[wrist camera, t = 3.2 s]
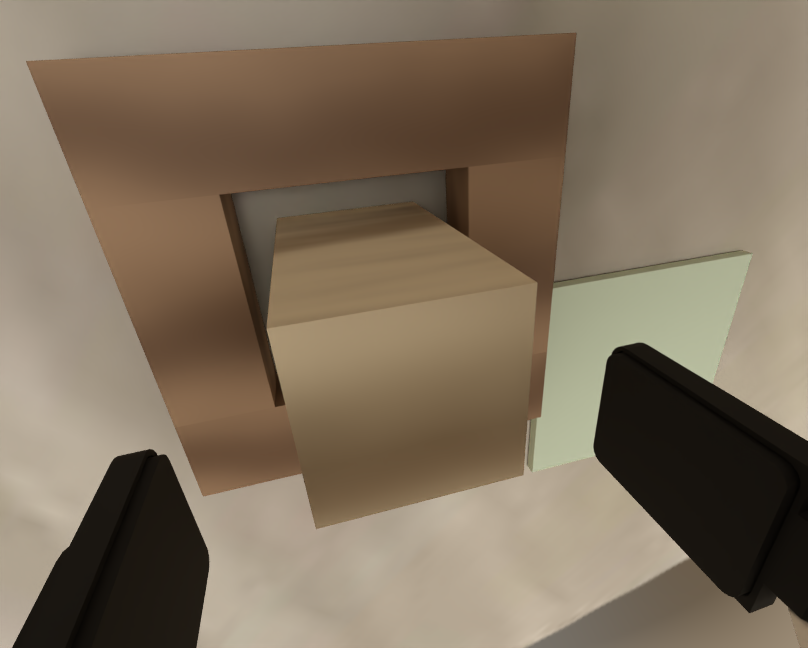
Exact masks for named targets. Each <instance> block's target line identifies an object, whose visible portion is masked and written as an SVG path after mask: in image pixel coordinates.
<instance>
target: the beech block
mask: <svg viewBox="0 0 808 648" xmlns="http://www.w3.org/2000/svg"><path fill="white" fill-rule="evenodd" d="M536 297H537V282H536V281H534V280H533V279H531V278H530V277H528V276H526V275H525V274H523V273H522V272H520V271H519V270H517V269H516V268H514V267H513V266H511V265H510V264H508V263H507V262H505V261H503V260H502V259H500V258H499V257H497V256H496V255H494V254H493V253H491V252H490V251H488V250H487V249H485V248H484V247H482V246H480V245H479V244H477V243H476V242H474V241H473V240H471V239H470V238H468V237H467V236H465V235H464V234H462V233H460V232H459V231H457V230H456V229H454V228H453V227H451V226H450V225H448V224H447V223H445V222H444V221H442V220H441V219H439V218H437V217H436V216H434V215H433V214H431V213H430V212H428V211H427V210H425V209H424V208H422V207H421V206H419V205H418V204H416V203H414V202H413V201H412V202H404V203H396V204H388V205H380V206H372V207H363V208H355V209H347V210H339V211H331V212H323V213H315V214H307V215H299V216H291V217H283V218H277V225H276V235H275V245H274V256H273V266H272V277H271V287H270V298H269V308H268V319H267V333H268V337H269V341H270V345H271V349H272V353H273V357H274V361H275V365H276V369H277V373H278V377H279V381H280V385H281V389H282V393H283V397H284V401H285V405H286V409H287V413H288V418H289V422H290V426H291V430H292V434H293V438H294V442H295V446H296V450H297V454H298V458H299V462H300V466H301V470H302V474H303V478H304V482H305V486H306V490H307V494H308V498H309V502H310V506H311V510H312V514H313V518H314V523H315V527H316V529H318V528H322V527H326V526H330V525H333V524H337V523H341V522H345V521H349V520H353V519H356V518H360V517H364V516H368V515H372V514H376V513H380V512H383V511H387V510H391V509H395V508H399V507H403V506H406V505H410V504H414V503H418V502H422V501H426V500H429V499H433V498H437V497H441V496H445V495H449V494H452V493H456V492H460V491H464V490H468V489H472V488H475V487H479V486H483V485H487V484H491V483H495V482H498V481H502V480H506V479H510V478H514V477H518V476H521V475H523V472H524V459H525V445H526V432H527V418H528V405H529V391H530V378H531V364H532V351H533V337H534V324H535V310H536Z"/></svg>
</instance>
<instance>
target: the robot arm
mask: <svg viewBox="0 0 808 648" xmlns="http://www.w3.org/2000/svg"><path fill="white" fill-rule="evenodd" d="M593 449H594V453H595V455H596V457H597V459H598V460H599V462H600V463H601V464H602V465H603V466H604V467H605V468H606V469H607V470H608V471H609V472H610V473H611V474H612V475H613V477H614V478H615V479H616V480H617V481H618V482H619V483H620V484H621V485H622V486H623V487H624V488H625V489H626V490H627V491H628V492H629V493H630V495H631V496H632V497H633V498H634V499H635V500H636V501H637V502H638V503H639V504H640V505H641V506H642V507H643V508H644V509H645V510H646V512H647V513H648V514H649V515H650V516H651V517H652V518H653V519H654V520H655V521H656V522H657V523H658V524H659V525H660V526H661V527H662V528H663V530H664V531H665V532H666V533H667V534H668V535H669V536H670V537H671V538H672V539H673V540H674V541H675V542H676V543H677V544H678V545H679V546H680V548H681V549H682V550H683V551H684V552H685V553H686V554H687V555H688V556H689V557H690V558H691V559H692V560H693V561H694V562H695V563H696V565H697V566H698V567H699V568H700V569H701V570H702V571H703V572H704V573H705V574H706V575H707V576H708V577H709V578H710V579H711V580H712V581H713V582H714V583H715V585H716V586H717V587H718V588H719V589H720V590H721V591H722V592H724V593H725V594H727V595H728V596H731V597H734V598H735V599H736V600H737V601H738V602H739V603H740V604H741V605H742V606H743V607H744V608H745V609H746V610H747V611H748V612H749V613H751V612H754V611H756V610H759V609H761V608H764V607H767V606H769V605H772V604H773V603H774V601H775V599H776V597H778V598H779V599H781V601H782V602H784V603H785V604H786V605H787V606H788V610H789V613H790V616H791V620H792V623H793V626H794V630H795V633H796V636H797V640H798V643H799V646H800V648H808V441H807V440H805V439H803V438H802V437H800V436H798V435H797V434H795V433H793V432H792V431H790V430H788V429H787V428H785V427H783V426H782V425H780V424H778V423H777V422H775V421H774V420H772V419H770V418H769V417H767V416H765V415H764V414H762V413H760V412H759V411H757V410H755V409H754V408H752V407H750V406H749V405H747V404H745V403H744V402H742V401H740V400H739V399H737V398H735V397H734V396H732V395H730V394H729V393H727V392H725V391H724V390H722V389H720V388H719V387H717V386H715V385H714V384H712V383H710V382H709V381H707V380H705V379H704V378H702V377H700V376H699V375H697V374H695V373H694V372H692V371H690V370H689V369H687V368H685V367H684V366H682V365H680V364H679V363H677V362H675V361H674V360H672V359H670V358H669V357H667V356H666V355H664V354H662V353H661V352H659V351H657V350H656V349H654V348H652V347H651V346H649V345H647V344H645V343H640V342H638V343H634V344H629V345H624V346H620V347H617V348H615V349H614V350H613V351H612V354H611V355H610V356H609V357H608V359H607V362H606V369H605V375H604V381H603V387H602V394H601V400H600V406H599V412H598V419H597V425H596V431H595V437H594V444H593ZM208 572H209V554H208V550H207V547H206V545H205V542H204V540H203V538H202V535H201V533H200V530H199V528H198V526H197V523H196V521H195V519H194V516H193V514H192V512H191V509H190V507H189V505H188V502H187V500H186V498H185V495H184V493H183V491H182V488H181V486H180V484H179V481H178V479H177V477H176V474H175V472H174V470H173V467H172V465H171V463H170V460H169V458H168V457H167V456H166V455H159V456H158V455H157V453H156V452H155V451H154V450H151V449H149V450H144V451H140V452H135V453H130V454H126V455H121V456H117V457H116V458H114V459H113V461H112V462H111V464H110V466H109V468H108V470H107V472H106V474H105V476H104V478H103V480H102V482H101V484H100V486H99V488H98V490H97V492H96V494H95V496H94V498H93V500H92V502H91V504H90V506H89V508H88V510H87V512H86V514H85V516H84V518H83V520H82V522H81V524H80V526H79V528H78V530H77V532H76V534H75V536H74V538H73V540H72V542H71V544H70V546H69V547H68V548H67V549H66V550H64V551H63V552H62V554H61V555H60V557H59V558H58V560H57V561H56V563H55V565H54V567H53V569H52V571H51V573H50V575H49V577H48V579H47V581H46V583H45V585H44V587H43V589H42V591H41V592H40V594H39V596H38V598H37V600H36V602H35V604H34V606H33V608H32V610H31V612H30V614H29V616H28V618H27V620H26V622H25V624H24V626H23V628H22V629H21V631H20V633H19V635H18V637H17V639H16V641H15V643H14V645H13V647H12V648H196V647H197V640H198V634H199V628H200V622H201V616H202V609H203V603H204V597H205V591H206V585H207V578H208Z"/></svg>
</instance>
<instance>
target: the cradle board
mask: <svg viewBox="0 0 808 648" xmlns="http://www.w3.org/2000/svg"><path fill="white" fill-rule="evenodd" d="M575 44H576V33H561V34H542V35H523V36H504V37H484V38H465V39H446V40H427V41H407V42H388V43H369V44H350V45H330V46H311V47H292V48H273V49H253V50H234V51H215V52H195V53H176V54H157V55H138V56H118V57H99V58H80V59H61V60H41V61H26V63H27V65H28V67H29V70H30V72H31V75H32V77H33V80H34V82H35V85H36V87H37V90H38V92H39V94H40V97H41V99H42V102H43V104H44V107H45V109H46V112H47V114H48V117H49V119H50V121H51V124H52V126H53V129H54V131H55V134H56V136H57V139H58V141H59V144H60V146H61V149H62V151H63V153H64V156H65V158H66V161H67V163H68V166H69V168H70V171H71V173H72V176H73V178H74V180H75V183H76V185H77V188H78V190H79V193H80V195H81V198H82V200H83V203H84V205H85V207H86V210H87V212H88V215H89V217H90V220H91V222H92V225H93V227H94V230H95V232H96V235H97V237H98V239H99V242H100V244H101V247H102V249H103V252H104V254H105V257H106V259H107V262H108V264H109V266H110V269H111V271H112V274H113V276H114V279H115V281H116V284H117V286H118V289H119V291H120V293H121V296H122V298H123V301H124V303H125V306H126V308H127V311H128V313H129V316H130V318H131V321H132V323H133V325H134V328H135V330H136V333H137V335H138V338H139V340H140V343H141V345H142V348H143V350H144V352H145V355H146V357H147V360H148V362H149V365H150V367H151V370H152V372H153V375H154V377H155V379H156V382H157V384H158V387H159V389H160V392H161V394H162V397H163V399H164V402H165V404H166V407H167V409H168V411H169V414H170V416H171V419H172V421H173V424H174V426H175V429H176V431H177V434H178V436H179V438H180V441H181V443H182V446H183V448H184V451H185V453H186V456H187V458H188V461H189V463H190V465H191V468H192V470H193V473H194V475H195V478H196V480H197V483H198V485H199V488H200V490H201V493H202V495H203V496H207V495H211V494H216V493H220V492H224V491H228V490H233V489H237V488H241V487H246V486H250V485H254V484H258V483H263V482H267V481H271V480H275V479H280V478H284V477H288V476H292V475H297V474H301V473H302V470H301V466H300V462H299V458H298V454H297V450H296V446H295V442H294V438H293V434H292V430H291V426H290V422H289V418H288V413H287V409H286V405H285V401H284V397H283V393H282V389H281V385H280V381H279V377H278V374H277V375H276V372H275V368H274V364H273V360H272V356H271V352H270V348H269V344H268V340H267V336H266V332H265V328H264V324H263V320H262V316H261V312H260V308H259V304H258V300H257V296H256V292H255V288H254V284H253V280H252V276H251V272H250V268H249V264H248V260H247V256H246V252H245V248H244V244H243V240H242V236H241V232H240V228H239V224H238V220H237V216H236V212H235V208H234V204H233V200H232V196H231V193H238V192H247V191H256V190H265V189H274V188H283V187H292V186H301V185H310V184H319V183H328V182H337V181H346V180H355V179H364V178H373V177H382V176H391V175H400V174H409V173H418V172H427V171H436V170H445V169H446V204H447V224H448V225H450V226H451V227H453V228H454V229H456V230H457V231H459V232H460V233H462V234H464V235H465V236H467V237H468V238H470V239H471V240H473V241H474V242H476V243H477V244H479V245H480V246H482V247H484V248H485V249H487V250H488V251H490V252H491V253H493V254H494V255H496V256H497V257H499V258H500V259H502V260H503V261H505V262H507V263H508V264H510V265H511V266H513V267H514V268H516V269H517V270H519V271H520V272H522V273H523V274H525V275H526V276H528V277H530V278H531V279H533V280H534V281H536V282H537V297H536V310H535V324H534V337H533V351H532V364H531V378H530V391H529V405H528V418H527V420H531V419H535V418H539V417H541V412H542V401H543V390H544V379H545V369H546V358H547V347H548V336H549V325H550V314H551V304H552V293H553V282H554V271H555V260H556V249H557V239H558V228H559V217H560V206H561V195H562V184H563V174H564V163H565V152H566V141H567V130H568V119H569V109H570V98H571V87H572V76H573V65H574V54H575Z"/></svg>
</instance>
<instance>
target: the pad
mask: <svg viewBox="0 0 808 648" xmlns="http://www.w3.org/2000/svg"><path fill="white" fill-rule="evenodd" d="M752 254H753V253H749V252H746V251H736V252H730V253H725V254H719V255H713V256H707V257H701V258H695V259H690V260H684V261H678V262H672V263H666V264H661V265H655V266H649V267H643V268H637V269H631V270H626V271H620V272H614V273H608V274H602V275H597V276H591V277H585V278H579V279H573V280H567V281H562V282H556V283H553V293H552V304H551V314H550V325H549V336H548V347H547V358H546V369H545V379H544V390H543V401H542V412H541V417H539V418H535V419H531V427H530V439H529V452H528V467H529V468H530V470H531V471H532V472H536V471H540V470H543V469H547V468H551V467H555V466H559V465H563V464H566V463H570V462H574V461H578V460H582V459H586V458H589V457H593V456H596V455H595V453H594V449H593V444H594V437H595V431H596V425H597V419H598V412H599V406H600V400H601V394H602V387H603V381H604V375H605V369H606V362H607V359H608V357H609V356H610V355H611V354H612V351H613V350H614V349H615V348H617V347H620V346H624V345H629V344H634V343H638V342H640V343H645V344H647V345H649V346H651V347H652V348H654V349H656V350H657V351H659V352H661V353H662V354H664V355H666V356H667V357H669V358H670V359H672V360H674V361H675V362H677V363H679V364H680V365H682V366H684V367H685V368H687V369H689V370H690V371H692V372H694V373H695V374H697V375H699V376H700V377H702V378H704V379H705V380H707V381H709V382H710V383H713V380H714V377H715V374H716V370H717V367H718V364H719V361H720V358H721V354H722V351H723V348H724V345H725V341H726V338H727V335H728V332H729V328H730V325H731V322H732V319H733V316H734V312H735V309H736V306H737V303H738V299H739V296H740V293H741V290H742V286H743V283H744V280H745V277H746V274H747V270H748V267H749V264H750V261H751V257H752Z"/></svg>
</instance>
